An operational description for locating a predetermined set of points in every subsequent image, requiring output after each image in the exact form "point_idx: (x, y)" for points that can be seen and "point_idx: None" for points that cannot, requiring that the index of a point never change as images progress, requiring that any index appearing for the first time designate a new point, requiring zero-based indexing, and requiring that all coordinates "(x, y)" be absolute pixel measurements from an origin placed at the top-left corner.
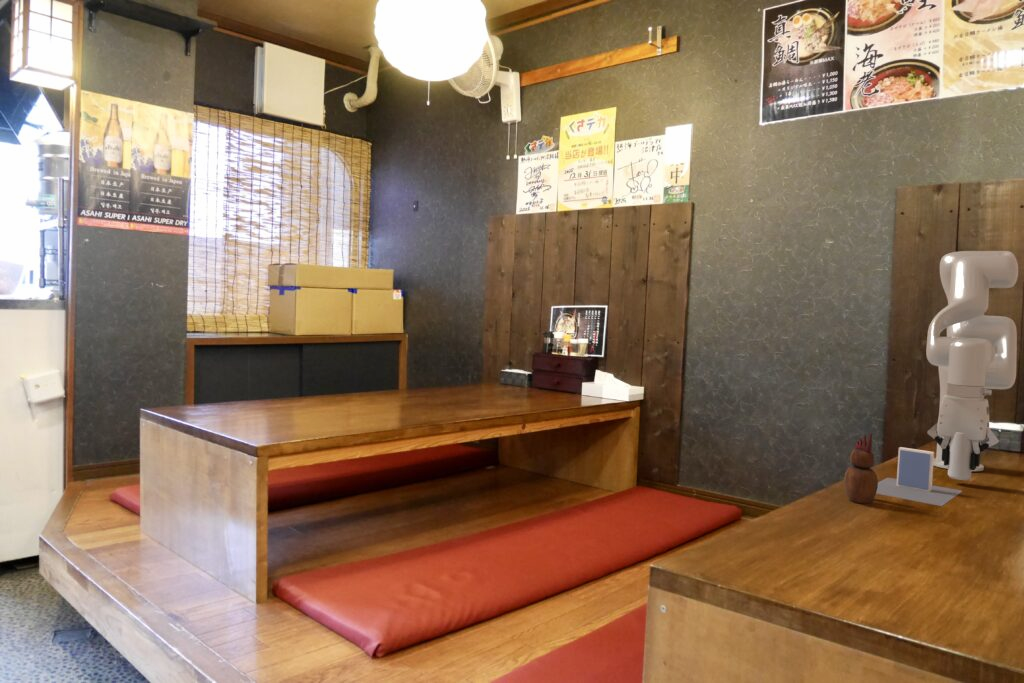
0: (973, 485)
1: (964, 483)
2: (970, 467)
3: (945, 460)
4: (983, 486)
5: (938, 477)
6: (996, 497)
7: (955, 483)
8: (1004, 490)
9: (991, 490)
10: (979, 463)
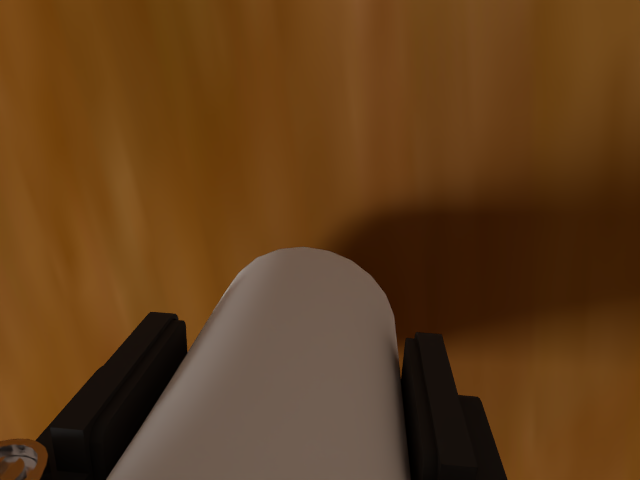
0: (401, 176)
1: (332, 151)
2: None
3: None
4: (472, 148)
5: (123, 64)
6: (563, 473)
7: (279, 214)
8: (629, 176)
9: (533, 264)
10: (481, 406)
